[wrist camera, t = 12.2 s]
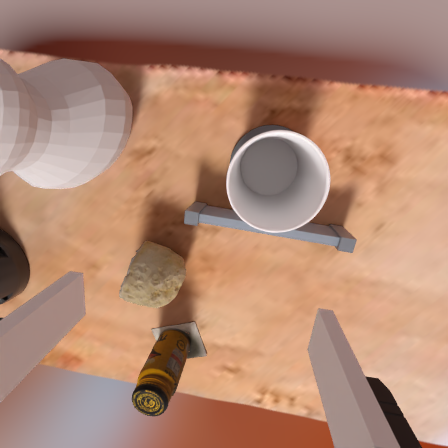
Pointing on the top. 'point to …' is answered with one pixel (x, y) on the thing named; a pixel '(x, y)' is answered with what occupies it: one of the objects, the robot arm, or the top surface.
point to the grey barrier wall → (307, 232)
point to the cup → (278, 181)
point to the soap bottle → (61, 122)
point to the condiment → (166, 366)
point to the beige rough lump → (153, 276)
